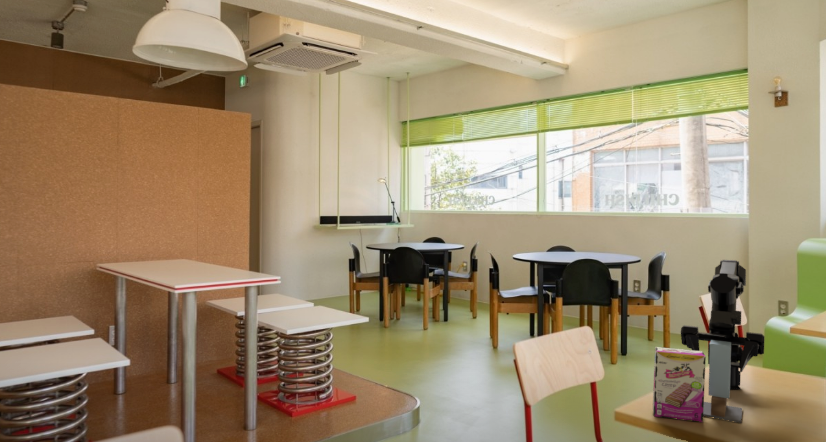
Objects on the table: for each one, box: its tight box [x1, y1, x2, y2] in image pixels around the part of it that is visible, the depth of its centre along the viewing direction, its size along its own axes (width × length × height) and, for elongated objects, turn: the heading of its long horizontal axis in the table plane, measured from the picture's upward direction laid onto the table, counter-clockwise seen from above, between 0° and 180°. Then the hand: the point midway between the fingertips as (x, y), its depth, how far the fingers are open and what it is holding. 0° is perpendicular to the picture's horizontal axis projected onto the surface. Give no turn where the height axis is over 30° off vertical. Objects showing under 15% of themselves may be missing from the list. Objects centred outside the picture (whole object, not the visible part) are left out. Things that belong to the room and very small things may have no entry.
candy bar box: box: [652, 346, 707, 423], centre depth 141 cm, size 11×5×16 cm, turn 71°
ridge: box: [710, 396, 728, 417], centre depth 145 cm, size 3×9×4 cm, turn 149°
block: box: [708, 340, 731, 400], centre depth 144 cm, size 4×4×13 cm
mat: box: [703, 401, 743, 424], centre depth 145 cm, size 10×10×1 cm
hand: (719, 368), depth 143 cm, fingers open, 9 cm apart
